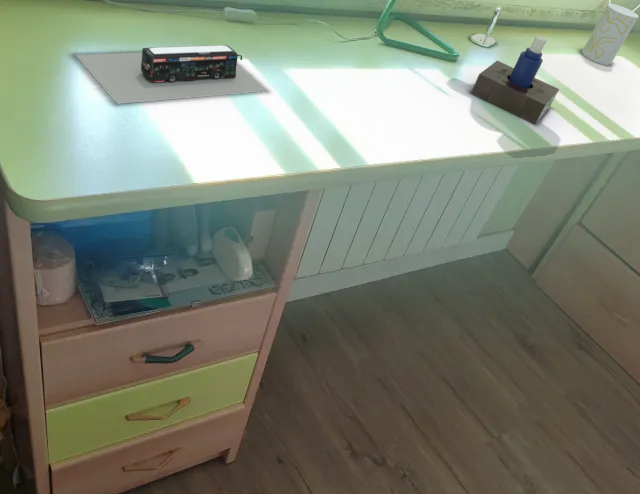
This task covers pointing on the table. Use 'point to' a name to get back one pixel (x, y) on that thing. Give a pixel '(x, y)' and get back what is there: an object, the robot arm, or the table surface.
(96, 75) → the toy bus on base
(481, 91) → the block
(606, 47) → the cup
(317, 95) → the table surface
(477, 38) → the stand
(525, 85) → the bottle
